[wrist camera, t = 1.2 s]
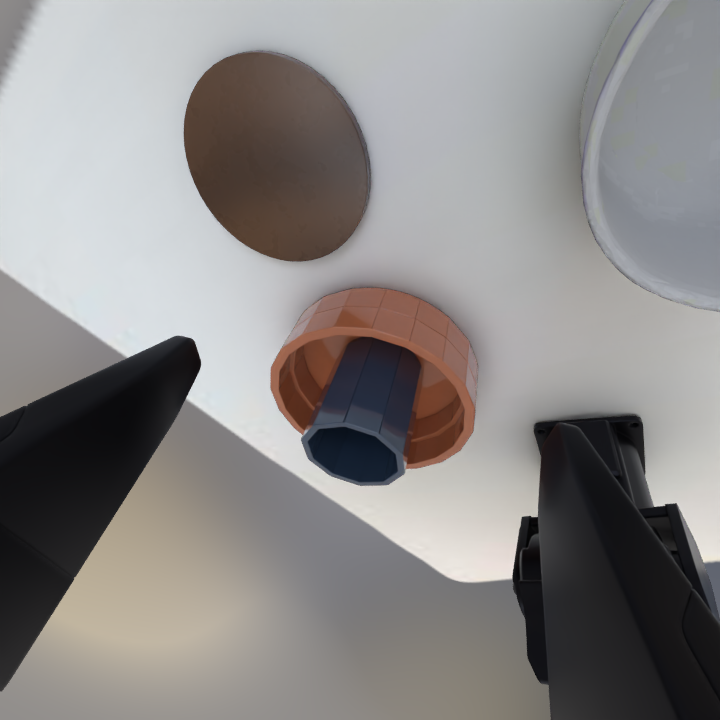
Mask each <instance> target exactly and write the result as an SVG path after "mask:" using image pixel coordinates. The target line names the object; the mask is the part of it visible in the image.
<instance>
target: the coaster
mask: <svg viewBox="0 0 720 720" xmlns="http://www.w3.org/2000/svg"><path fill="white" fill-rule="evenodd" d="M184 146H185V152H186V158H187V162H188V166H189V169H190V173H191V175H192V178H193V180H194V183H195V185H196V187H197V189H198V191H199V193H200V195H201V197H202V199H203V200H204V202H205V204H206V205H207V207H208V208H209V210H210V211H211V212H212V214H213V215H214V217H215V218H216V219H217V220H218V221H219V222H220V223H221V225H222V226H223V227H224V228H225V229H226V230H227V231H229V232H230V233H231V234H232V235H233V236H234V237H235V238H237V239H238V240H239V241H241V242H242V243H244V244H245V245H247V246H248V247H250V248H251V249H253V250H255V251H257V252H259V253H261V254H264V255H267V256H269V257H272V258H276V259H280V260H286V261H309V260H314V259H317V258H321V257H323V256H325V255H328V254H330V253H331V252H333V251H335V250H336V249H338V248H339V247H340V246H341V245H343V244H344V243H345V242H346V241H347V240H348V238H349V237H350V236H351V235H352V233H353V232H354V230H355V229H356V227H357V226H358V224H359V222H360V220H361V218H362V216H363V214H364V211H365V208H366V205H367V201H368V196H369V190H370V165H369V157H368V153H367V148H366V144H365V141H364V138H363V135H362V132H361V129H360V127H359V125H358V123H357V121H356V119H355V116H354V115H353V113H352V111H351V110H350V108H349V106H348V105H347V103H346V102H345V100H344V99H343V98H342V96H341V95H340V94H339V93H338V91H337V90H336V89H335V88H334V87H333V86H332V85H331V84H330V83H329V82H328V81H327V80H326V79H325V78H324V77H323V76H322V75H320V74H319V73H318V72H316V71H315V70H314V69H312V68H311V67H309V66H308V65H306V64H304V63H302V62H301V61H299V60H297V59H294V58H292V57H289V56H287V55H284V54H280V53H275V52H271V51H250V52H243V53H239V54H236V55H233V56H230V57H227V58H225V59H223V60H221V61H219V62H218V63H216V64H214V65H213V66H212V67H211V68H210V69H209V70H208V71H206V72H205V73H204V75H203V76H202V77H201V79H200V80H199V81H198V82H197V84H196V86H195V88H194V90H193V92H192V93H191V96H190V99H189V102H188V105H187V109H186V114H185V119H184Z"/></svg>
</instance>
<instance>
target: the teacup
mask: <svg viewBox="0 0 720 720" xmlns="http://www.w3.org/2000/svg"><path fill="white" fill-rule="evenodd" d="M579 139H580V156H581V181H582V193H583V203H584V207H585V211H586V215H587V219H588V223H589V225H590V228H591V230H592V233H593V235H594V238H595V240H596V242H597V243H598V245H599V246H600V248H601V249H602V251H603V252H604V254H605V255H606V256H607V257H608V259H609V260H610V261H611V262H612V264H613V265H614V266H615V267H616V268H617V269H618V270H619V271H620V272H621V273H622V274H623V275H625V276H626V277H627V278H628V279H629V280H631V281H632V282H633V283H635V284H637V285H639V286H640V287H642V288H644V289H646V290H648V291H650V292H652V293H654V294H656V295H659V296H660V297H663V298H665V299H668V300H671V301H675V302H678V303H681V304H684V305H687V306H691V307H694V308H698V309H704V310H711V311H717V312H720V0H625V1H624V3H623V4H622V6H621V8H620V9H619V11H618V13H617V14H616V16H615V18H614V19H613V21H612V23H611V25H610V27H609V29H608V31H607V33H606V35H605V37H604V39H603V41H602V43H601V45H600V48H599V50H598V52H597V55H596V57H595V60H594V62H593V65H592V68H591V71H590V74H589V77H588V80H587V84H586V88H585V91H584V97H583V102H582V108H581V115H580V133H579Z"/></svg>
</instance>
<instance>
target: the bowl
mask: <svg viewBox="0 0 720 720" xmlns="http://www.w3.org/2000/svg"><path fill="white" fill-rule="evenodd" d="M359 337H373V338H376V339H379V340H383V341H386V342H389V343H392V344H395V345H399V346H402V347H405V348H407V349H409V350H410V351H412V352H413V353H414V354H415V355H416V356H417V358H418V359H419V361H420V363H421V366H422V388H421V393H420V399H419V404H418V409H417V414H416V419H415V424H414V429H413V434H412V439H411V444H410V449H409V454H408V459H407V464H406V469H416V468H421V467H425V466H429V465H432V464H436V463H440V462H443V461H444V460H446V459H447V458H449V457H451V456H452V455H454V454H455V453H457V452H459V451H460V450H461V449H462V447H463V446H464V445H465V443H466V442H467V440H468V439H469V437H470V436H471V434H472V433H473V429H474V418H475V406H476V390H477V373H478V364H477V361H476V358H475V356H474V353H473V350H472V347H471V344H470V342H469V340H468V339H467V338H466V336H465V335H464V334H463V333H462V332H461V331H460V329H459V328H458V327H457V326H456V325H455V324H454V322H453V321H452V320H451V319H450V318H449V317H448V316H446V315H445V314H444V313H442V312H441V311H440V310H438V309H437V308H435V307H434V306H432V305H431V304H429V303H427V302H425V301H423V300H421V299H420V298H417V297H415V296H412V295H409V294H407V293H403V292H399V291H396V290H391V289H384V288H368V287H367V288H353V289H348V290H345V291H341V292H338V293H334V294H331V295H327V296H325V297H323V298H321V299H320V300H319V301H317V302H316V303H315V304H313V305H312V306H310V307H309V308H308V309H306V310H305V311H304V312H303V314H302V315H301V317H300V318H299V320H298V322H297V323H296V325H295V327H294V328H293V330H292V332H291V333H290V335H289V337H288V338H287V340H286V341H285V343H284V345H283V346H282V348H281V350H280V352H279V353H278V355H277V357H276V359H275V361H274V363H273V364H272V366H271V391H272V393H273V396H274V398H275V401H276V403H277V406H278V408H279V410H280V411H281V413H282V414H283V415H284V416H285V417H286V419H287V420H288V421H289V422H290V424H291V425H292V426H293V427H294V428H295V429H296V430H297V431H298V432H300V433H301V434H302V435H303V434H304V432H305V429H306V427H307V425H308V422H309V420H310V418H311V416H312V413H313V411H314V409H315V407H316V404H317V402H318V400H319V398H320V395H321V393H322V391H323V388H324V386H325V384H326V382H327V379H328V377H329V375H330V373H331V370H332V368H333V366H334V364H335V361H336V359H337V358H338V356H339V355H340V354H341V351H342V350H343V348H344V347H345V346H346V345H347V344H348V343H349V342H350V341H352V340H354V339H356V338H359Z"/></svg>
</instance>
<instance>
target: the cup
mask: <svg viewBox="0 0 720 720" xmlns="http://www.w3.org/2000/svg"><path fill="white" fill-rule="evenodd" d="M421 388H422V366H421V363H420V361H419V359H418V358H417V356H416V355H415V354H414V353H413V352H412V351H410V350H409V349H407V348H405V347H402V346H399V345H395V344H392V343H389V342H386V341H383V340H379V339H376V338H373V337H359V338H356V339H354V340H352V341H350V342H349V343H348V344H347V345H346V346H345V347H344V348H343V350H342V351H341V354H340V355H339V356H338V358H337V359H336V361H335V364H334V366H333V368H332V370H331V373H330V375H329V377H328V379H327V382H326V384H325V386H324V388H323V391H322V393H321V395H320V398H319V400H318V402H317V404H316V407H315V409H314V411H313V413H312V416H311V418H310V420H309V422H308V425H307V427H306V429H305V432H304V434H303V436H302V438H301V441H302V444H303V447H304V449H305V452H306V455H307V457H308V459H309V460H310V461H311V462H313V463H314V464H315V465H317V466H318V467H319V468H321V469H322V470H323V471H324V472H326V473H327V474H328V475H331V476H332V477H335V478H338V479H341V480H344V481H347V482H350V483H353V484H356V485H360V486H373V485H389V484H390V483H392V482H393V481H395V480H396V479H398V478H399V477H401V476H402V475H404V473H405V469H406V464H407V459H408V454H409V449H410V444H411V439H412V434H413V429H414V424H415V419H416V414H417V409H418V404H419V399H420V393H421Z"/></svg>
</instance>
